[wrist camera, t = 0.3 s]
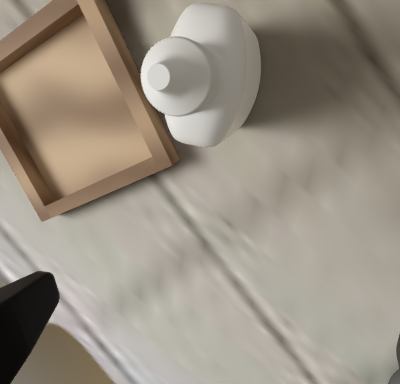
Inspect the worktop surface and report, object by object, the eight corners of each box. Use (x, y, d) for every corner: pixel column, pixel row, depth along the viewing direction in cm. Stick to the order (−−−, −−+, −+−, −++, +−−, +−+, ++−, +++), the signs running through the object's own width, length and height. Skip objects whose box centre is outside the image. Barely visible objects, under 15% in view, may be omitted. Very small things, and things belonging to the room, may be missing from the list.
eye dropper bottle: (291, 64, 19) (290, 34, 8) (231, 139, 21) (164, 199, 10) (233, 16, 19) (150, -80, 8) (179, 96, 21) (55, 109, 10)
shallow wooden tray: (180, 160, 22) (172, 165, 21) (55, 214, 27) (42, 221, 25) (98, -15, 20) (82, -23, 19) (-23, 74, 25) (-43, 73, 23)
